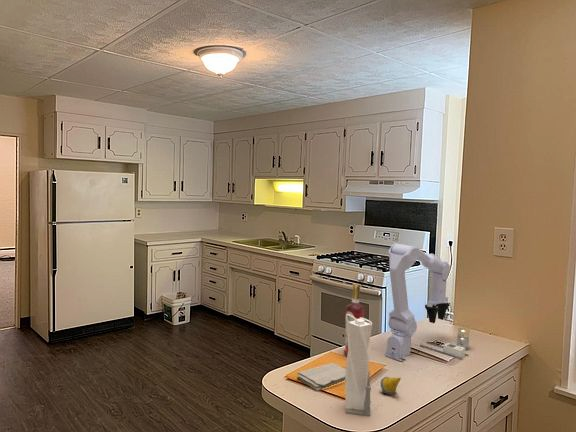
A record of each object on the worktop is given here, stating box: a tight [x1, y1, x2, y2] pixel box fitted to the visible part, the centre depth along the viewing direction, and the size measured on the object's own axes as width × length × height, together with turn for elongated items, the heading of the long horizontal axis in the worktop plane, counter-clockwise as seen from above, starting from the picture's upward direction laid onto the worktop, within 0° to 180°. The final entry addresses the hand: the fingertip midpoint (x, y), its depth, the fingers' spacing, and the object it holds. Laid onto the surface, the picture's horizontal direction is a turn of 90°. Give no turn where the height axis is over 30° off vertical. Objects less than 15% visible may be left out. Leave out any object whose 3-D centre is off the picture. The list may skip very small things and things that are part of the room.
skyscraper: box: [344, 313, 374, 417], centre depth 127 cm, size 8×8×28 cm
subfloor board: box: [419, 341, 469, 361], centre depth 174 cm, size 20×21×2 cm
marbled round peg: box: [456, 327, 471, 352], centre depth 175 cm, size 4×4×8 cm
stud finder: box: [442, 342, 466, 358], centre depth 169 cm, size 4×7×3 cm, turn 44°
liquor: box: [343, 283, 366, 356], centre depth 166 cm, size 7×7×28 cm
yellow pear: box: [379, 376, 402, 396], centre depth 137 cm, size 5×5×10 cm
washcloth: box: [296, 362, 346, 391], centre depth 146 cm, size 12×18×3 cm, turn 128°
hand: (436, 320), depth 181 cm, fingers open, 7 cm apart
